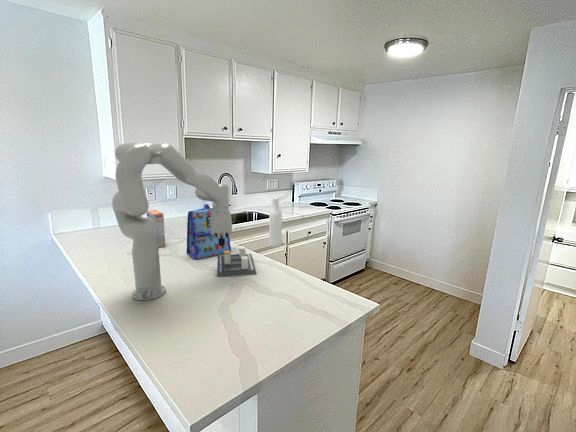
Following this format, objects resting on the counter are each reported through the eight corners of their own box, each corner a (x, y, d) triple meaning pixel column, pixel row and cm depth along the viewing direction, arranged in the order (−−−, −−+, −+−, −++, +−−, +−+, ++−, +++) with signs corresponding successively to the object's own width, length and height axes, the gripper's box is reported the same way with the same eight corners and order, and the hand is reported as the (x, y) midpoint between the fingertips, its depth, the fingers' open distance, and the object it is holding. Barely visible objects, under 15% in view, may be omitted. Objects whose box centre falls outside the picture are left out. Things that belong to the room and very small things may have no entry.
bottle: (267, 244, 192) (267, 197, 186) (279, 242, 195) (279, 196, 188) (271, 247, 184) (271, 199, 178) (283, 246, 187) (284, 198, 181)
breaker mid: (230, 263, 152) (230, 253, 150) (224, 264, 151) (224, 253, 150) (230, 261, 155) (230, 250, 154) (224, 261, 155) (224, 251, 154)
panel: (255, 274, 145) (255, 269, 144) (217, 276, 141) (217, 272, 141) (251, 257, 168) (251, 253, 167) (217, 259, 164) (217, 255, 164)
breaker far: (245, 257, 161) (245, 248, 160) (239, 257, 160) (239, 248, 159) (245, 254, 165) (244, 246, 164) (239, 255, 164) (239, 246, 163)
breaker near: (248, 268, 146) (247, 258, 145) (241, 269, 145) (241, 259, 144) (247, 265, 149) (247, 256, 148) (241, 266, 149) (241, 256, 148)
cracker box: (166, 246, 185) (163, 212, 180) (156, 248, 181) (153, 214, 176) (158, 241, 195) (156, 209, 191) (148, 243, 191) (145, 210, 187)
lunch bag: (195, 260, 162) (192, 207, 156) (186, 254, 172) (182, 204, 166) (231, 252, 175) (230, 203, 169) (220, 246, 185) (219, 200, 179)
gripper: (204, 210, 142) (205, 248, 145) (236, 210, 145) (237, 247, 148) (205, 208, 149) (206, 244, 153) (236, 207, 152) (236, 243, 155)
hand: (221, 245), depth 150 cm, fingers closed
